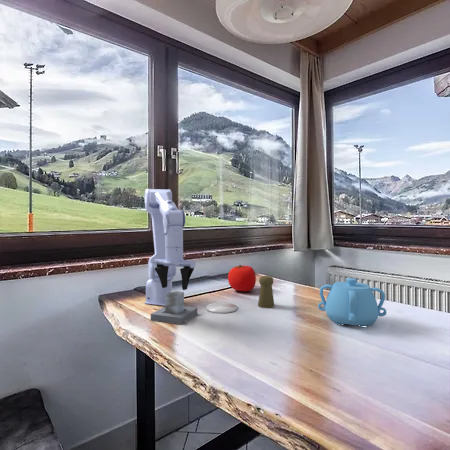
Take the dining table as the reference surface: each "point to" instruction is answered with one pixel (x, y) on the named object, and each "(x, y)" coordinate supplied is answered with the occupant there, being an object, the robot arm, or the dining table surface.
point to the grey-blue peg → (174, 302)
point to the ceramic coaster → (221, 307)
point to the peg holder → (174, 315)
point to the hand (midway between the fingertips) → (174, 288)
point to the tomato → (242, 278)
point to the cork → (266, 292)
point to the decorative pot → (352, 303)
